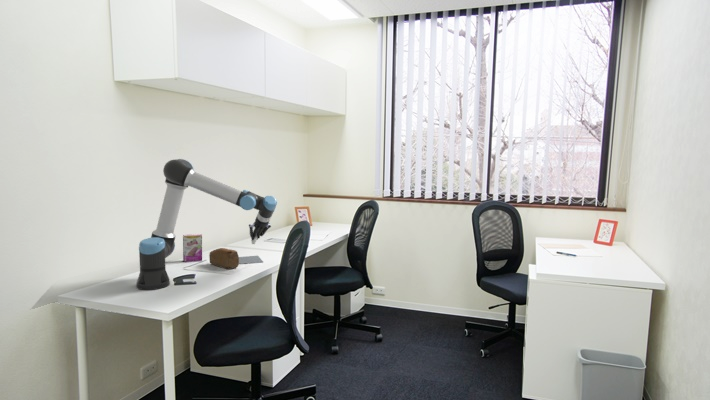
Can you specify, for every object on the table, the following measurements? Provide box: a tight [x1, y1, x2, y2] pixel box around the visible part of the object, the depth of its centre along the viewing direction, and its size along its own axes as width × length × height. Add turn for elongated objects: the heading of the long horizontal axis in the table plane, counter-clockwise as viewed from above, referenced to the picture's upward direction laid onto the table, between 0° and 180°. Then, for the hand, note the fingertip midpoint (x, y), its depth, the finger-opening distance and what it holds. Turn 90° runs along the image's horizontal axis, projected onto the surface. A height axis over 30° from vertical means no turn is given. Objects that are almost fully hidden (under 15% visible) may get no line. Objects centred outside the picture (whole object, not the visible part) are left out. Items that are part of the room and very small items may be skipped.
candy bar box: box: [182, 233, 203, 263], centre depth 270 cm, size 11×5×16 cm, turn 111°
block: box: [208, 247, 240, 269], centre depth 258 cm, size 11×8×20 cm
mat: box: [239, 255, 264, 265], centre depth 273 cm, size 20×18×1 cm
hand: (252, 242), depth 258 cm, fingers closed
